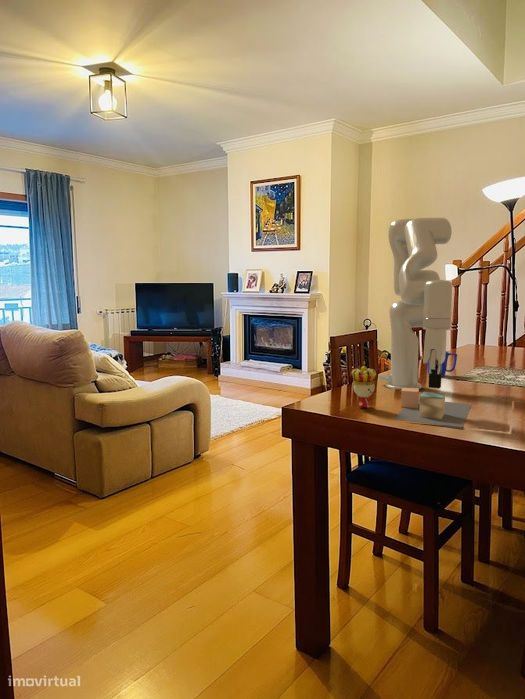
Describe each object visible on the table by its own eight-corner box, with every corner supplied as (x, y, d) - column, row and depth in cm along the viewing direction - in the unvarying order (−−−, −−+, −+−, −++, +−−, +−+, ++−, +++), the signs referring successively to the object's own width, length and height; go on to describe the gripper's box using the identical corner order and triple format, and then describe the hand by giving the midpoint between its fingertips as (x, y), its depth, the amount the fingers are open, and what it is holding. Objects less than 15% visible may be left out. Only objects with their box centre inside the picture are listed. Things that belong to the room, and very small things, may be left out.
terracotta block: (400, 406, 155) (401, 390, 155) (401, 403, 160) (401, 387, 159) (418, 408, 154) (418, 391, 153) (418, 404, 159) (418, 388, 158)
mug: (459, 377, 205) (460, 352, 204) (429, 377, 206) (430, 353, 204) (452, 373, 213) (453, 350, 212) (423, 374, 214) (424, 350, 212)
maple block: (423, 391, 149) (422, 411, 149) (419, 395, 143) (419, 416, 144) (445, 393, 146) (444, 413, 147) (442, 397, 141) (441, 418, 141)
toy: (370, 414, 150) (371, 363, 148) (347, 411, 153) (348, 361, 151) (378, 408, 156) (379, 360, 154) (356, 406, 159) (357, 358, 157)
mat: (392, 421, 142) (393, 419, 141) (412, 400, 166) (412, 398, 166) (462, 429, 133) (462, 427, 133) (471, 406, 158) (472, 404, 158)
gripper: (427, 321, 153) (425, 381, 156) (418, 325, 140) (416, 391, 142) (454, 322, 150) (451, 383, 152) (447, 326, 137) (444, 393, 139)
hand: (434, 387), depth 147 cm, fingers closed
